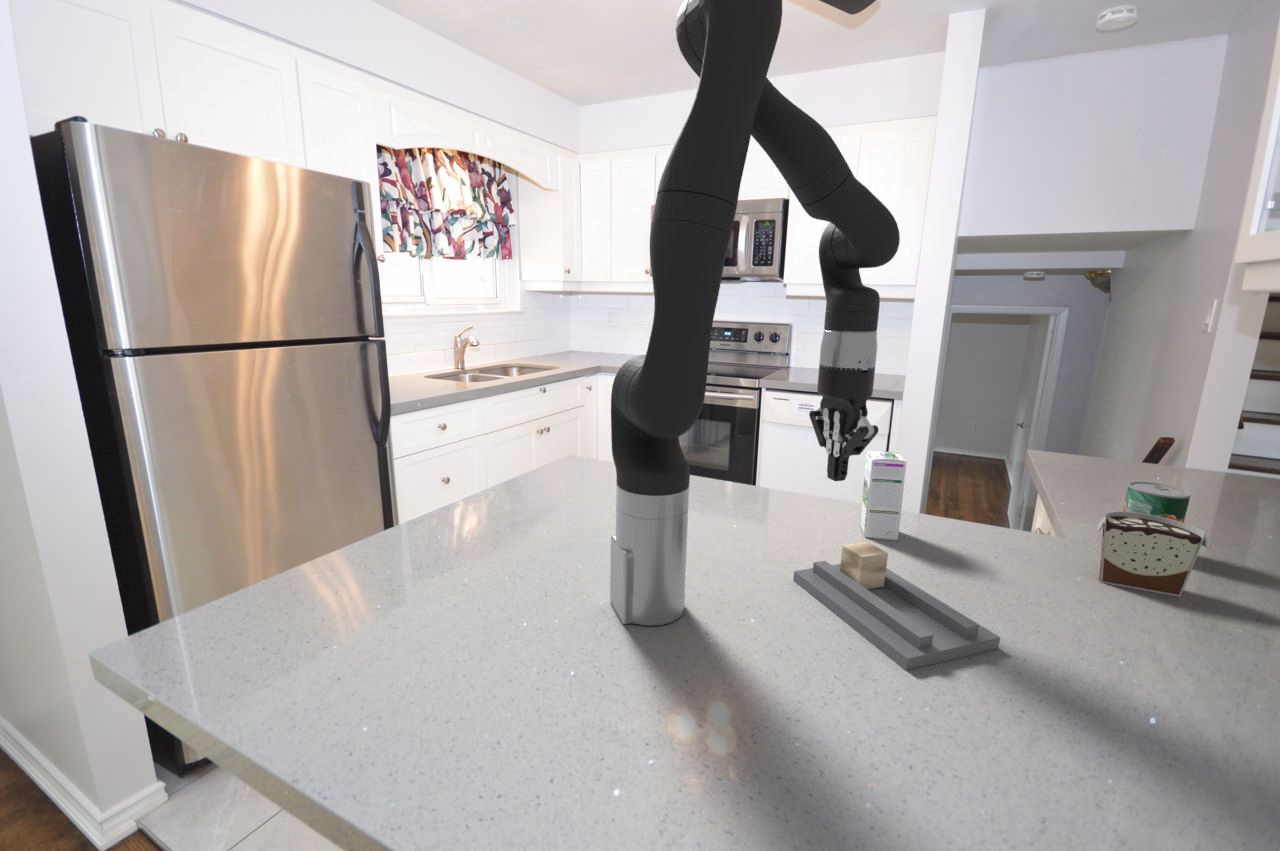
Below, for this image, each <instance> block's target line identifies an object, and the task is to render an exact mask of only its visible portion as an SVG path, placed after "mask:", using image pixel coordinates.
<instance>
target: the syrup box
mask: <svg viewBox="0 0 1280 851" xmlns="http://www.w3.org/2000/svg"><path fill="white" fill-rule="evenodd" d="M866 451H867V452H866V458H865V459H866V460H865V467H864V475H863V476H864V477H863V490H862V496H861V497H862V498H861V508H860V520H859V527H860V529H861V531H862V534H863V536H864V537H865V538H871V539H878V540H889V541H898V540H899V533H900V532H899V531H900V524H901V518H902V517H901V516H902V510H903V509H902V508H903V497H904V489H905V488H904V486H905V477H906V469H907V461H906V460H905V458H904V457H903V456H902V455H901V454H900V453H899V452H893V451H885V450H884V451H881V450H877V451H876V450H875V451H874V450H872V451H868V450H866Z"/></svg>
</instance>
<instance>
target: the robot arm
mask: <svg viewBox="0 0 1280 851" xmlns="http://www.w3.org/2000/svg"><path fill="white" fill-rule="evenodd" d="M782 17H783V0H684V1H682V3H681V6H680V8H679V9H678V12H677V16H676V20H675V36H676V41H677V42H676V43H677V45H678V48H679V51H680V53H681V55H682V57H683V58H684V60H685V61H686V63H687V64H688V66H689V67H690V68H691V70H692V71H693V72H694V73H695V75H697V77H698V78H699V80H698V81H699V82H698V86H697V90H696V93H695V95H694V96H695V97H694V100H693V103H692V105H691V108H690V110H689V112H688V115H687V117H686V119H685V121H684V123H683V126H682V128H681V130H680V132H679V135H678V137H677V139H676V141H675V143H674V144H673V146H672V149H671V152H670V154H669V157H668V159H667V161H666V163H665V166H664V169H663V171H662V173H661V177H660V180H659V184H658V189H657V193H656V197H655V203H654V209H653V215H652V219H651V220H652V221H651V226H650V232H649V233H650V235H649V258H650V259H649V260H650V267H651V277H652V285H653V286H652V287H653V295H654V310H653V311H654V312H653V319H652V326H651V332H650V336H649V341H648V345H647V350H646V353H645V354H641V355H637V356H633V357H632V358H630V359H628V360H627V361H626V362H625V363H623V364H622V365H621V366H620V368H619V369H618V370H617V373H616V374H615V377H614V379H613V383H612V386H611V395H610V432H611V435H610V436H611V439H610V440H611V453H612V459H613V463H614V464H613V465H614V467H615V472H616V490H615V492H616V495H615V496H616V499H615V500H616V501H615V502H616V504H615V534H613V535H611V536H610V580H609V581H610V583H609V586H610V589H609V590H610V592H609V594H610V596H609V603H610V604H611V605H612V607H613V608H614V611H615V612H616V614H617V616H618V618H619V620H620V621H621V623H622V624H624V625H627V624H637V625H641V626H661V625H666V624H670V623H673V622H675V621H676V620H678V619H679V618H680V617H682V615H683V614H684V610H685V598H686V570H687V568H686V567H687V549H688V547H687V546H688V545H687V544H688V526H689V525H688V520H689V503H690V502H689V501H690V500H689V498H690V497H689V496H690V483H691V482H690V480H691V479H690V478H691V477H690V476H691V468H690V464H689V462H688V460H687V458H686V457H685V455H684V452H683V450H682V447H681V444H680V438H679V437H682V436H683V435H684V434H686V433H687V432H689V430H690V429H691V428H692V427H693V426H694V425H695V423H696V422H697V421H698V418H699V417H700V415H701V411H702V409H703V406H704V402H705V396H706V388H707V381H708V380H707V379H708V369H709V358H710V349H711V339H712V331H713V322H714V318H715V314H716V308H717V303H718V300H719V293H720V288H721V283H722V278H723V273H724V266H725V261H726V257H727V252H728V249H729V244H730V241H731V238H732V233H733V227H734V222H735V219H736V213H737V207H738V201H739V194H740V188H741V182H742V179H743V178H742V177H743V173H744V170H745V169H744V168H745V164H746V159H747V156H748V151H749V146H750V141H751V137H752V138H753V139H754V140H755V141H756V142H757V144H758V145H759V146H760V147H761V148H762V149H763V151H764V152H765V154H767V156H768V157H769V159H770V160H771V162H772V163H773V164H774V166H775V167H776V169H777V170H778V172H779V173H780V174H781V176H782V177H783V180H785V182H786V184H787V185H788V187H789V188H790V189H791V192H792V193H793V195H794V196H795V197H796V199H797V201H798V202H799V204H800V206H801V208H802V210H804V211H805V213H806V214H807V215H808V216H809V217H810V218H812V219H815V220H819V221H825V222H828V224H827V226H826V227H825V229H824V230H823V231H822V234H821V237H820V240H819V245H818V259H819V260H818V261H819V267H820V273H821V274H820V275H821V278H822V286H823V289H824V294H825V301H826V304H825V312H824V313H825V314H824V325H823V335H822V339H821V344H820V349H819V350H820V352H819V365H818V366H819V367H818V374H817V375H818V379H817V389H816V390H817V394H818V395H819V396H821V397H822V399H821V400H820V403H819V406H820V407H819V408H817V409H816V410H810V411H809V413H808V414H809V419H810V421H811V422H810V423H811V424H812V427H813V429H814V433H815V437H816V439H817V442H818V446H820V447H822V448H825V452H826V453H827V467H826V473H827V475H826V476H827V479H829V480H831V481H834V482H842V481H844V480H846V478H847V476H848V471H849V470H848V468H849V460H850V457H851V456H860V455H861V454H862V453H863V452H864V450H865V449H866V447H868V445H869V444H870V443H871V442H872V440H873V439H874V438H875V437H876V435H877V434H878V433H879V427H878V425H876V424H875V425H872V424H871V423H870V421H869V420H868V418H867V417H868V414H869V412H868V408H867V400H868V399H869V398H871V397H872V396H873V394H874V393H873V392H874V383H875V382H874V381H875V372H876V362H877V354H878V353H877V352H878V337H877V336H878V332H877V331H878V324H879V313H880V306H881V305H880V304H881V301H880V300H881V298H880V297H881V296H880V293H879V292H878V291H877V290H876V289H874V288H872V287H869V286H866V285H864V284H863V282H862V278H861V272H860V269H870V268H871V269H874V268H878V267H881V266H884V265H886V264H888V263H889V262H891V261H892V259H894V257H895V256H896V254H897V253H898V250H899V246H900V240H901V237H900V235H901V234H900V230H899V227H898V226H899V225H898V222H897V220H896V219H895V217H894V215H893V213H891V211H890V210H889V209H888V207H887V206H886V205H885V204H883V202H882V201H881V200H880V199H878V198H877V196H876V195H874V194H873V193H872V191H870V189H868V188H867V187H866V186H865V185H864V184H862V183H861V182H860V181H859V180H858V179H857V178H856V177H855V175H854V173H853V171H852V169H851V168H850V166H849V164H848V162H847V161H846V159H845V157H844V156H843V153H842V152H841V151H840V148H839V147H838V146H837V143H836V142H835V140H834V139H833V138H832V136H831V135H830V134H829V132H828V131H827V129H825V127H823V126H822V125H821V124H820V123H819V122H818V121H817V120H816V119H815V118H813V117H812V116H811V115H809V114H808V113H806V112H805V111H804V110H802V109H801V108H800V107H798V106H797V104H794V103H793V102H792V101H791V100H789V98H787V97H786V96H785V95H784V94H783V93H782V92H780V90H779V89H778V88H777V87H776V86H774V85H773V83H772V82H771V81H770V80H769V78H768V77H767V75H768V73H769V69H770V66H771V62H772V59H773V56H774V53H775V49H776V45H777V42H778V38H779V35H780V31H781V26H782Z"/></svg>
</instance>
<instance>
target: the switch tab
mask: <svg viewBox="0 0 1280 851" xmlns="http://www.w3.org/2000/svg"><path fill="white" fill-rule="evenodd" d="M840 556H841V557H840V558H841V559H840V563H839V564H840V571H841V572H842V573H844V574H845V575H847V576H848V577H850V578H851V579H853V580H854V581H856V582H857V583H859V584H860V585H861V586H863V587H864V588H866V589H872V588H878V587H884V582H885V574H886V568H887V566H888V558H889V553H888V551H885V550H884V549H882V548H880V547H878V546H877V545H875V544H873V543H871V542H870V541H863V542H857V543H849V544H842V547H841V555H840Z"/></svg>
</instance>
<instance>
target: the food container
mask: <svg viewBox="0 0 1280 851" xmlns="http://www.w3.org/2000/svg"><path fill="white" fill-rule="evenodd" d="M1101 529H1102V536H1101V537H1102V538H1101V548H1100V549H1101V550H1100V551H1101V552H1100V564H1099V566H1100V567H1099V577H1098V578H1099V579H1098V580H1099V583H1102V584H1106V585H1107V584H1108V585H1113V586H1118V587H1124V588H1128V589H1129V588H1130V589H1134V590H1140V591H1145V592H1151V593H1156V594H1163V595H1168V596H1174V597H1180V598H1181V597H1182V595H1183V592H1184V589H1185V587H1186V584H1187V582H1188V580H1189V577H1190V575H1191V572H1192V571H1193V568H1194V565H1195V562H1196V560H1197V557H1198V556H1199V554H1200V553H1199V552H1200V550H1201V548H1202V546H1203V547H1205V548H1208V537H1207V536H1206V535H1207V534H1206V532H1205V531H1204V530H1202V529H1200V528H1198V527H1195V526H1193V525H1190V524H1188V523H1185V522H1184V523H1182V522H1179V521H1175V520H1172V519H1168V518H1164V517H1159V516H1154V515H1149V514H1142V513H1135V512H1123V511H1112V512H1107V513H1106V514H1104V516H1103V517H1102V518H1101V519H1100V522H1099V523H1098V526H1097V531H1098V532H1101Z"/></svg>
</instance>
